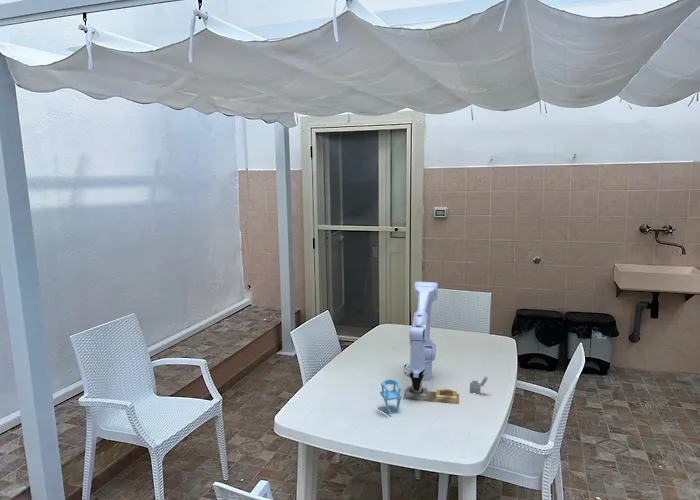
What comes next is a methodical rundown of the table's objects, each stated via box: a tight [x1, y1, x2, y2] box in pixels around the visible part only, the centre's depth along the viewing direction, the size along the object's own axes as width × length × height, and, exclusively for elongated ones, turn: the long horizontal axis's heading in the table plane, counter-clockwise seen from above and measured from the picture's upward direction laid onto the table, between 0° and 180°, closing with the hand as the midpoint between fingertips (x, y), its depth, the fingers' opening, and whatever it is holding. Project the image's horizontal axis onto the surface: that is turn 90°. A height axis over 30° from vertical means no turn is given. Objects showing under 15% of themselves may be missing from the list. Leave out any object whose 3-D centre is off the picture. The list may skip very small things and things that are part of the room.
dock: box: [402, 385, 460, 405], centre depth 203 cm, size 22×10×3 cm, turn 79°
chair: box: [377, 379, 403, 418], centre depth 191 cm, size 8×8×12 cm
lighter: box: [469, 375, 489, 395], centre depth 208 cm, size 7×2×8 cm, turn 63°
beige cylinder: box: [411, 380, 423, 394], centre depth 204 cm, size 4×4×8 cm
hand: (416, 388), depth 204 cm, fingers closed on beige cylinder, 4 cm apart
